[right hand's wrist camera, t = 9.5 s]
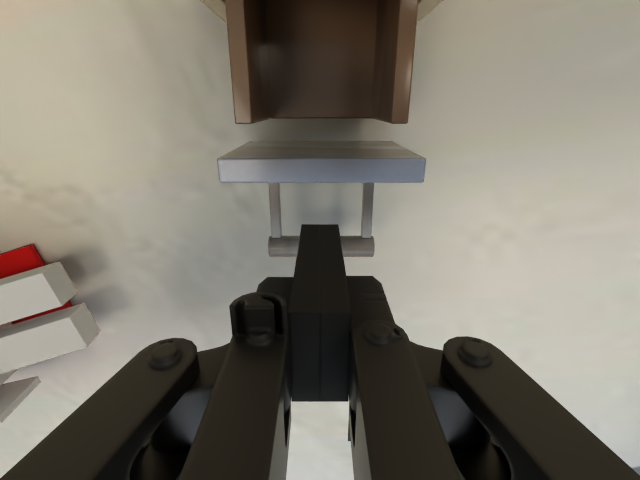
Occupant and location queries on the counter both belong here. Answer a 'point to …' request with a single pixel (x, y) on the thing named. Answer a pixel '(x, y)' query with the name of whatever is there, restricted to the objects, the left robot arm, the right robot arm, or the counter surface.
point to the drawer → (321, 97)
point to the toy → (36, 320)
